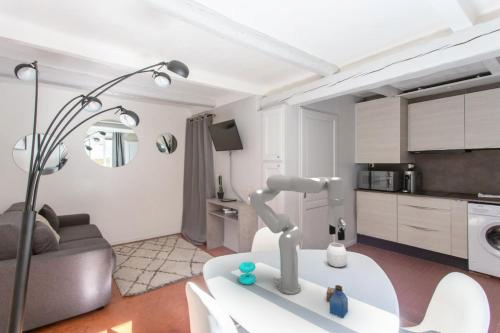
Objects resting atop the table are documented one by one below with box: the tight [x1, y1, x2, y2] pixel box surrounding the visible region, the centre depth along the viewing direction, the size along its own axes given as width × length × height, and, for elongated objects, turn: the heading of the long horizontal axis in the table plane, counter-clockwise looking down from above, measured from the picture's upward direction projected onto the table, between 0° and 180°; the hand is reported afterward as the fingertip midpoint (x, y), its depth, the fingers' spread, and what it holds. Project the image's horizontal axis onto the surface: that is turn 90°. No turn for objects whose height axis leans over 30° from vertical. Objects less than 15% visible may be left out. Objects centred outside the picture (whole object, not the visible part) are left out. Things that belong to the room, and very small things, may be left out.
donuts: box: [238, 261, 257, 286], centre depth 145 cm, size 10×10×10 cm
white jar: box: [326, 242, 348, 268], centre depth 165 cm, size 13×13×14 cm
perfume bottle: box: [329, 284, 349, 319], centre depth 114 cm, size 6×6×12 cm
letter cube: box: [326, 286, 335, 303], centre depth 124 cm, size 5×5×5 cm
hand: (336, 237), depth 121 cm, fingers open, 9 cm apart
